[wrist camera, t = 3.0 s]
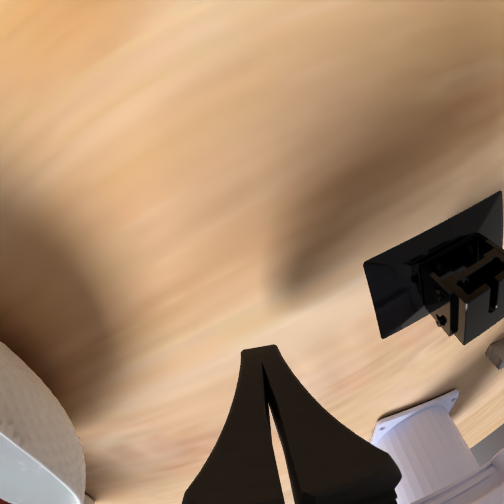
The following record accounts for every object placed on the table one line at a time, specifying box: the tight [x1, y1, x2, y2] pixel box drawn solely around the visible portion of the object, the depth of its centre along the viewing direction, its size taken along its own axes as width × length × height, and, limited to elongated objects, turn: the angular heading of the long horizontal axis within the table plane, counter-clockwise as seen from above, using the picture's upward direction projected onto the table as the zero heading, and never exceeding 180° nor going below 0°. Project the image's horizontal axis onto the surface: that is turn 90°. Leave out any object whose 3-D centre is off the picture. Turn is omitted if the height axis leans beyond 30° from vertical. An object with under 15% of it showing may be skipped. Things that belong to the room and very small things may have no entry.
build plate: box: [363, 191, 504, 345], centre depth 13 cm, size 12×7×5 cm, turn 114°
